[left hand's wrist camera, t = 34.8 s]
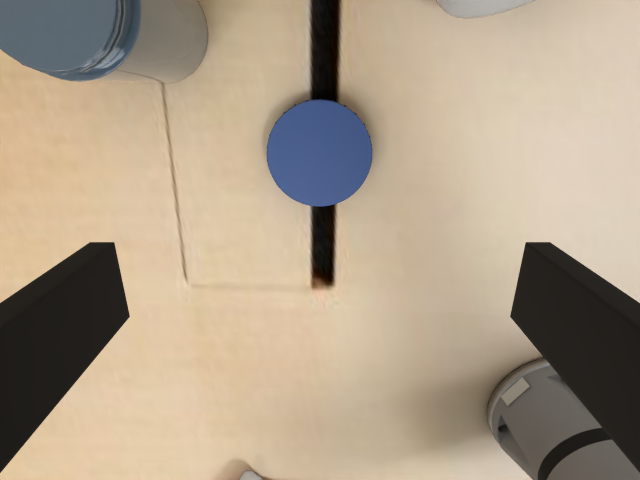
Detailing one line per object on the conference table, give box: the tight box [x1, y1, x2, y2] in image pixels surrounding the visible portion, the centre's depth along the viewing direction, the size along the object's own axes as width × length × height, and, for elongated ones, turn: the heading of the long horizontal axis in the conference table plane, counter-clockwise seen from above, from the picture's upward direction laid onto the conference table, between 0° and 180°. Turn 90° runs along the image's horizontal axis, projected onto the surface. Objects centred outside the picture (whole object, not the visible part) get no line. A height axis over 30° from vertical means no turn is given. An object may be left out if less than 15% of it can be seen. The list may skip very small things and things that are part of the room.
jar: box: [0, 0, 208, 83], centre depth 26 cm, size 8×8×15 cm
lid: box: [267, 98, 372, 206], centre depth 36 cm, size 10×10×2 cm
